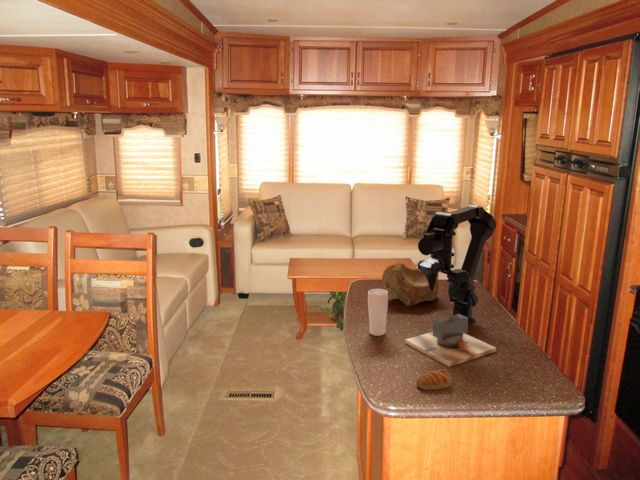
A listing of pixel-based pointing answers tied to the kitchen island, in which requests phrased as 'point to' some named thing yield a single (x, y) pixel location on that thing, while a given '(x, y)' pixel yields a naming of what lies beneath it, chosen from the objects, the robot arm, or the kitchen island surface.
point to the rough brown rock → (408, 284)
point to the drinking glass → (377, 311)
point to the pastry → (434, 380)
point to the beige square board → (450, 349)
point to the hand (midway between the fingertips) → (441, 294)
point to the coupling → (451, 331)
